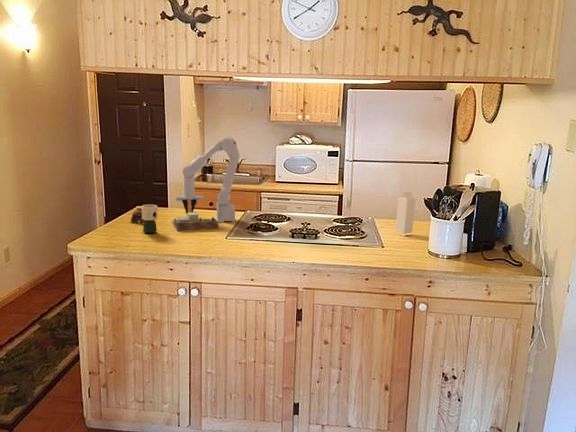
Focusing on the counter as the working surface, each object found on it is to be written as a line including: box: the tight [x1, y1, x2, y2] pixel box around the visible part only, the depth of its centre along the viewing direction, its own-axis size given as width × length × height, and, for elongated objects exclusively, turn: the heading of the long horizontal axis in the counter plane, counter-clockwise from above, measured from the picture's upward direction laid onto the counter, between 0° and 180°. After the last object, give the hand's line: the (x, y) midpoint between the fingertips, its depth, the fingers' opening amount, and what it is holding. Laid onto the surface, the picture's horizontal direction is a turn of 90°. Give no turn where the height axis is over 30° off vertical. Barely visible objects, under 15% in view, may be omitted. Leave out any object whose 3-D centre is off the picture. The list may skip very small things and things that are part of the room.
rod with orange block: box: [186, 206, 199, 222], centre depth 263 cm, size 5×14×5 cm, turn 21°
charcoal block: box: [177, 216, 189, 223], centre depth 249 cm, size 5×6×4 cm
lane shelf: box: [171, 216, 220, 232], centre depth 255 cm, size 20×18×4 cm
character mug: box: [141, 204, 158, 234], centre depth 237 cm, size 11×7×13 cm, turn 0°
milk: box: [395, 191, 417, 234], centre depth 253 cm, size 6×6×22 cm
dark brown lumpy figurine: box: [130, 207, 145, 225], centre depth 257 cm, size 12×10×8 cm
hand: (189, 213), depth 268 cm, fingers closed on rod with orange block, 2 cm apart
